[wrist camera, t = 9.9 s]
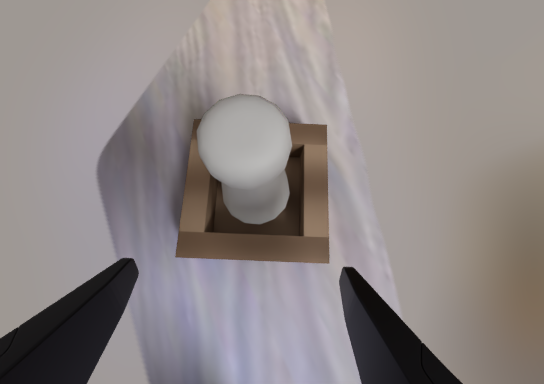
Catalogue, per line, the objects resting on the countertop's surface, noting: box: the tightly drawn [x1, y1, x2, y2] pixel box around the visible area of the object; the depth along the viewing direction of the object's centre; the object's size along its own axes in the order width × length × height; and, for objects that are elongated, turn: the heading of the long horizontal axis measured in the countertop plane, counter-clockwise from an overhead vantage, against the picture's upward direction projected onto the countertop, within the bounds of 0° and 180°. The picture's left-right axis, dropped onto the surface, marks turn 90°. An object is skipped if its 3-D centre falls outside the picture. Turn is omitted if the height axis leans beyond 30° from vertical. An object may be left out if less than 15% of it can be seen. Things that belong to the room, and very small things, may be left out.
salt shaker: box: [197, 94, 292, 224], centre depth 16 cm, size 6×6×13 cm
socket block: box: [175, 119, 329, 263], centre depth 21 cm, size 12×12×4 cm
